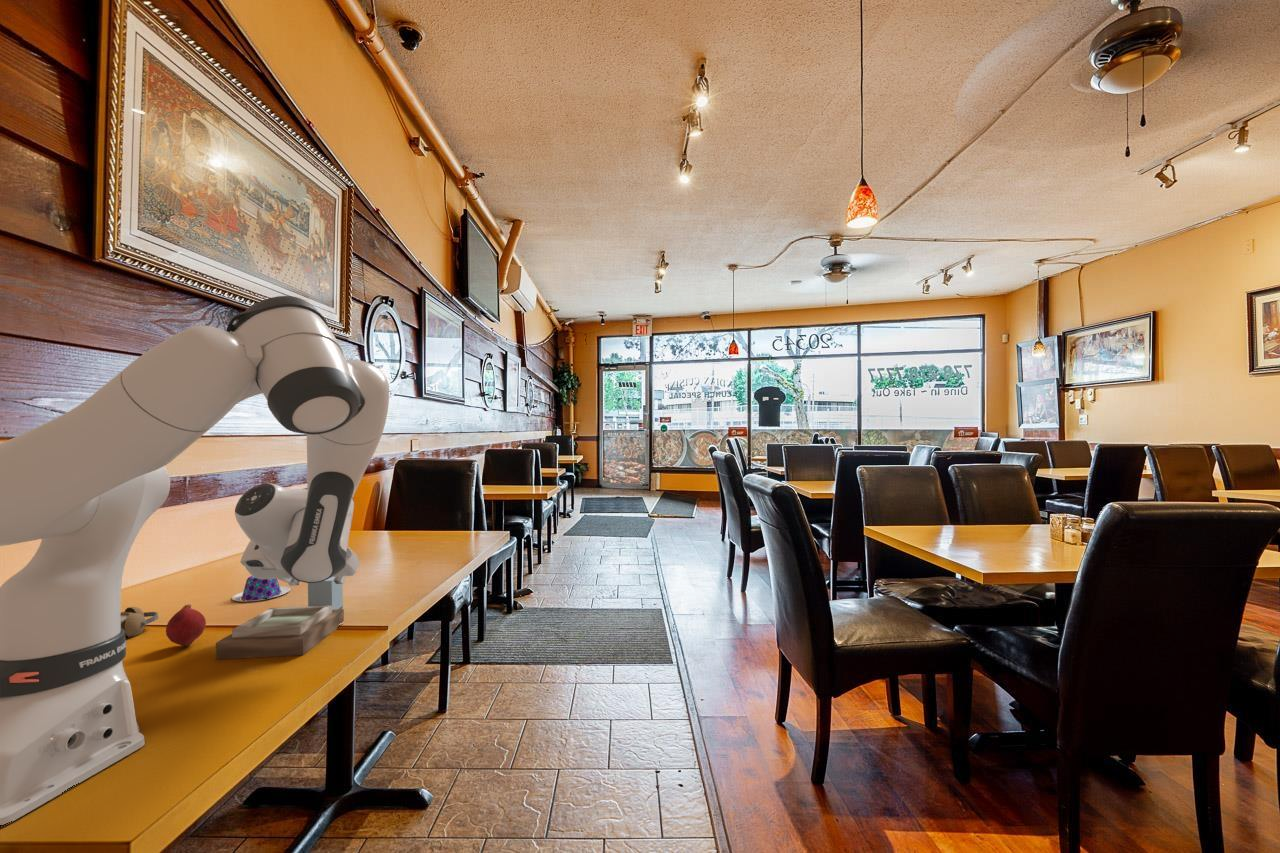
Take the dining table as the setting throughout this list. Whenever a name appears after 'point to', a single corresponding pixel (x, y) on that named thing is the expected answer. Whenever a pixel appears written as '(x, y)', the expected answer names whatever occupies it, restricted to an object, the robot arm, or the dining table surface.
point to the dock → (280, 632)
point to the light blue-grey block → (325, 594)
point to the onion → (185, 626)
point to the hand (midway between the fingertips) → (318, 581)
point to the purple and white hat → (260, 589)
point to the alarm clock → (135, 620)
